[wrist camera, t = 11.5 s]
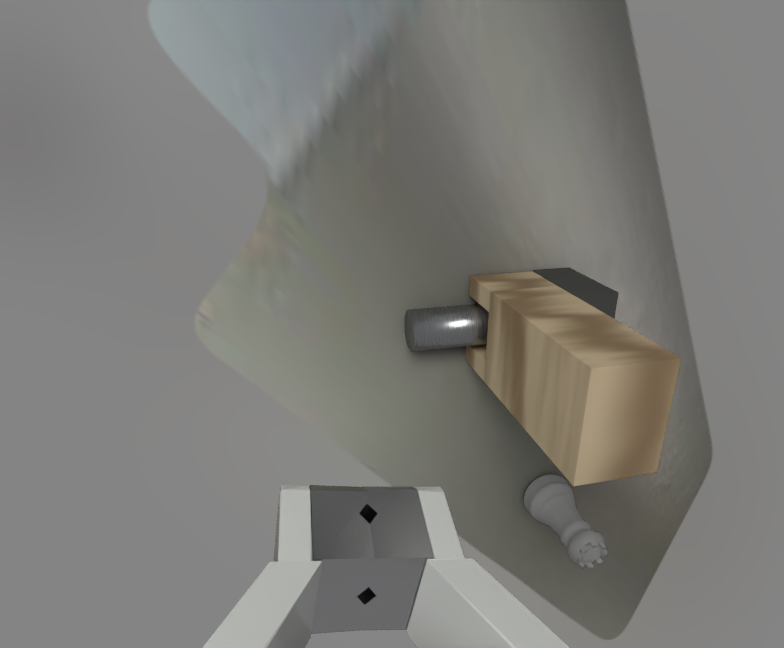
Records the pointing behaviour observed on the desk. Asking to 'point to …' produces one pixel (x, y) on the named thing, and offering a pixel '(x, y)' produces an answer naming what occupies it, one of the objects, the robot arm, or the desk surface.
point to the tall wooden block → (574, 377)
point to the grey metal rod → (446, 327)
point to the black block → (583, 288)
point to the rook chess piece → (564, 519)
